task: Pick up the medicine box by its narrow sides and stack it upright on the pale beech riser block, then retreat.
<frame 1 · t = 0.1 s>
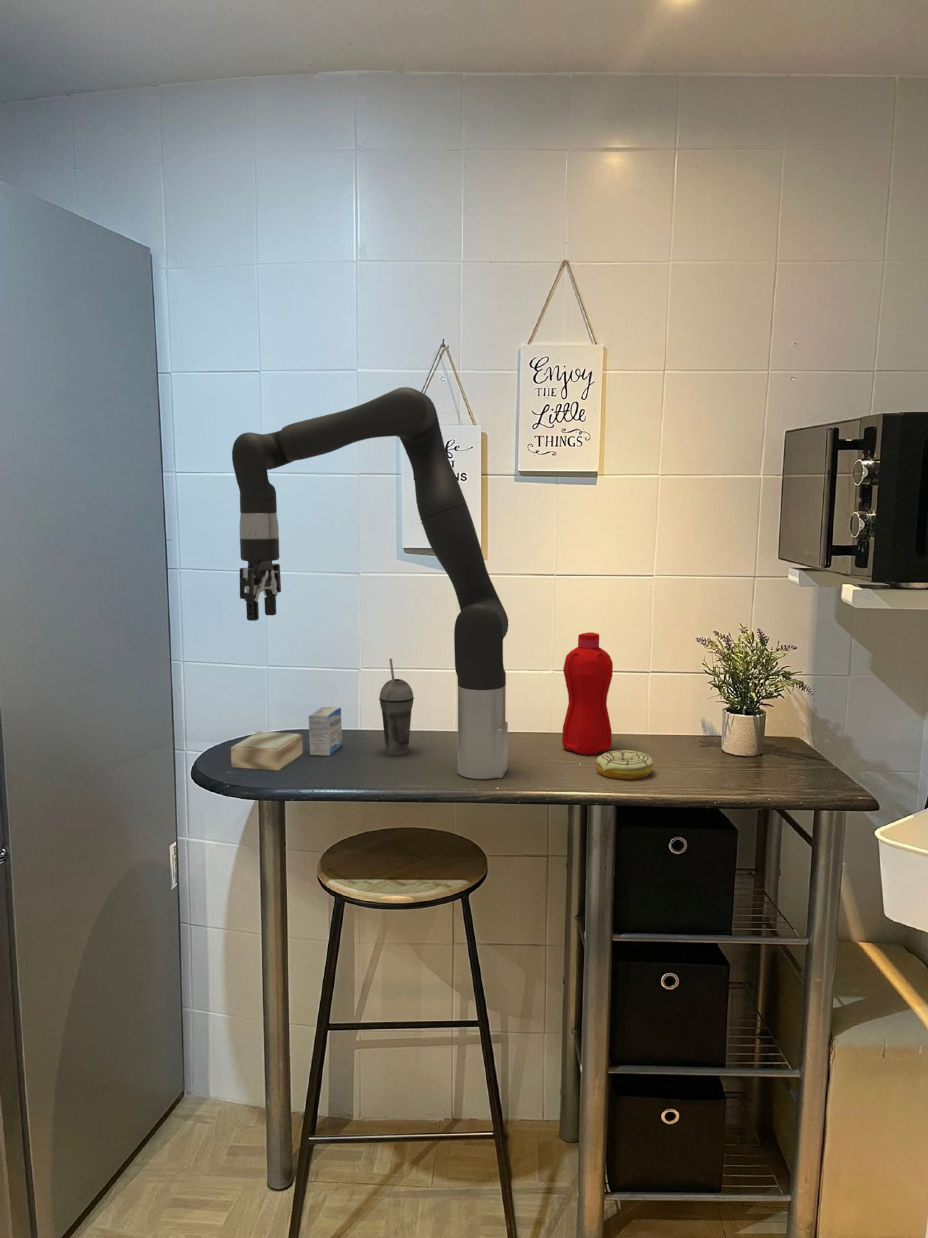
hand: (262, 617, 175), 29 cm above the table, fingers open, 8 cm apart
riser: (268, 760, 177), on the table
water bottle: (583, 749, 186), on the table
medicine box: (326, 751, 184), on the table
beverage cup: (397, 753, 183), on the table
decorated donut: (624, 774, 169), on the table
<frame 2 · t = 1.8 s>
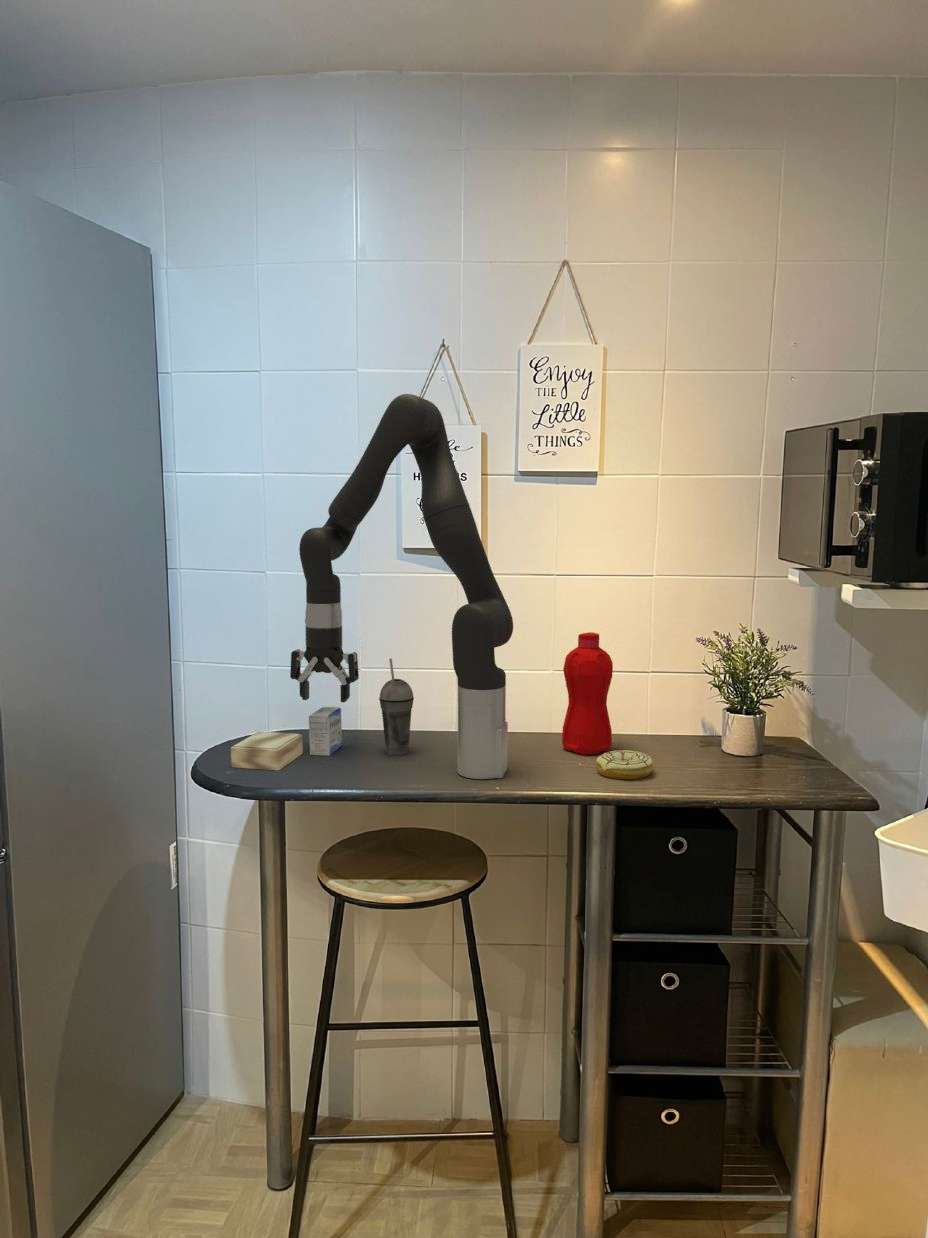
hand: (324, 700, 183), 11 cm above the table, fingers open, 8 cm apart
nothing on the table moved.
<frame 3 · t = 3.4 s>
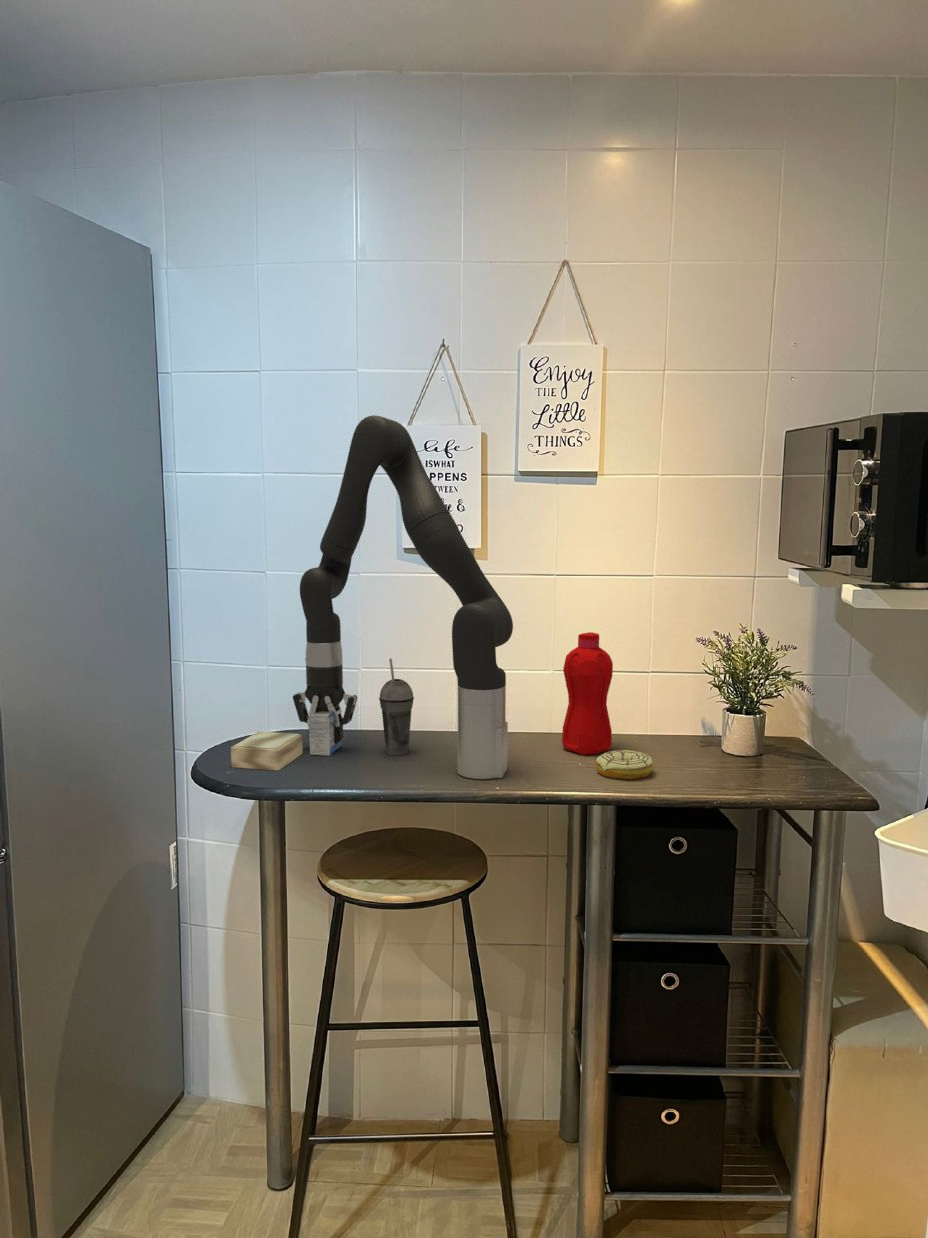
hand: (325, 741, 184), 2 cm above the table, fingers closed on medicine box, 4 cm apart
medicine box: (326, 751, 184), on the table, touching gripper
everything else where it was.
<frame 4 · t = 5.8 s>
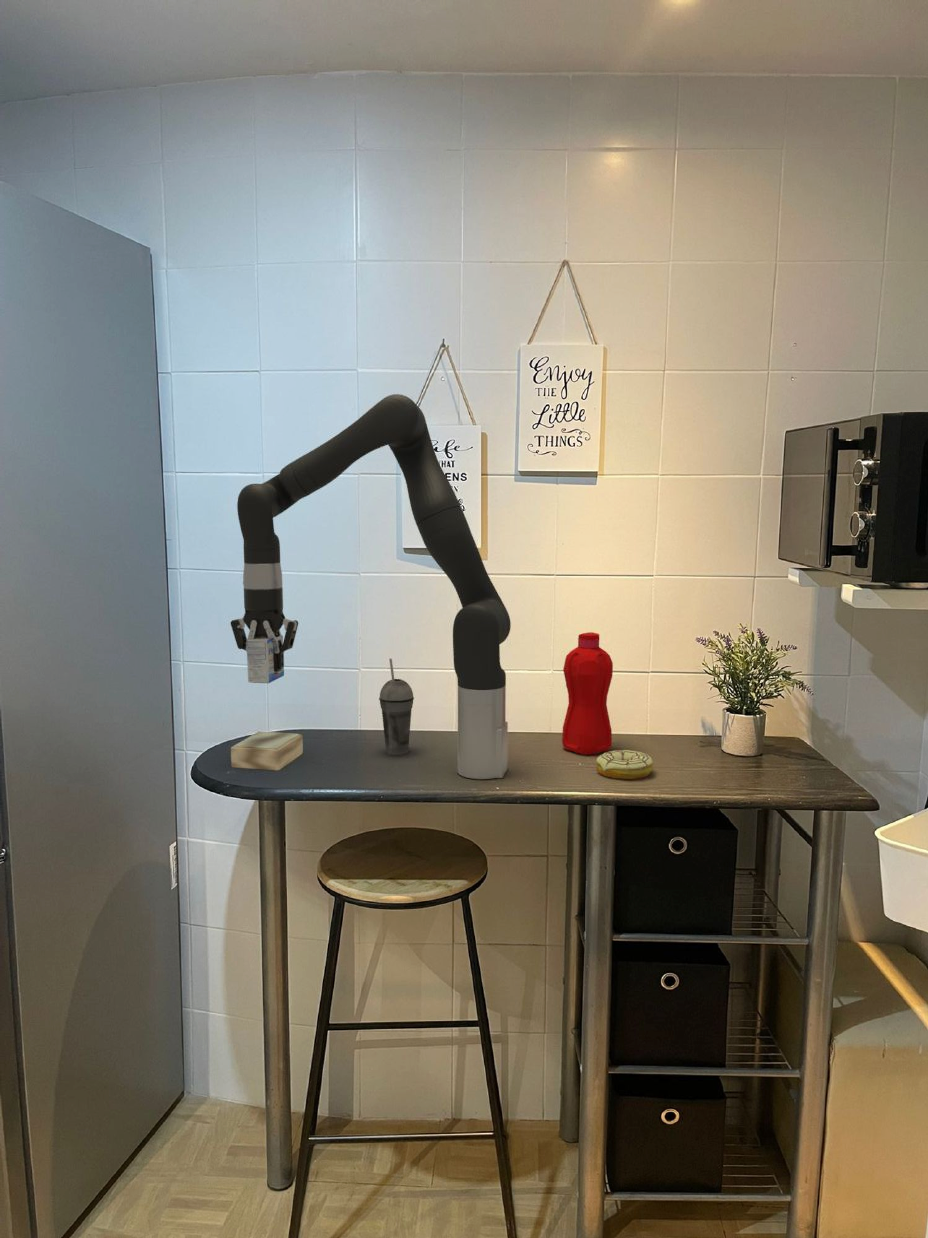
hand: (265, 670, 175), 19 cm above the table, fingers closed on medicine box, 4 cm apart
medicine box: (266, 680, 175), point 16 cm above the table, touching gripper
everything else where it was.
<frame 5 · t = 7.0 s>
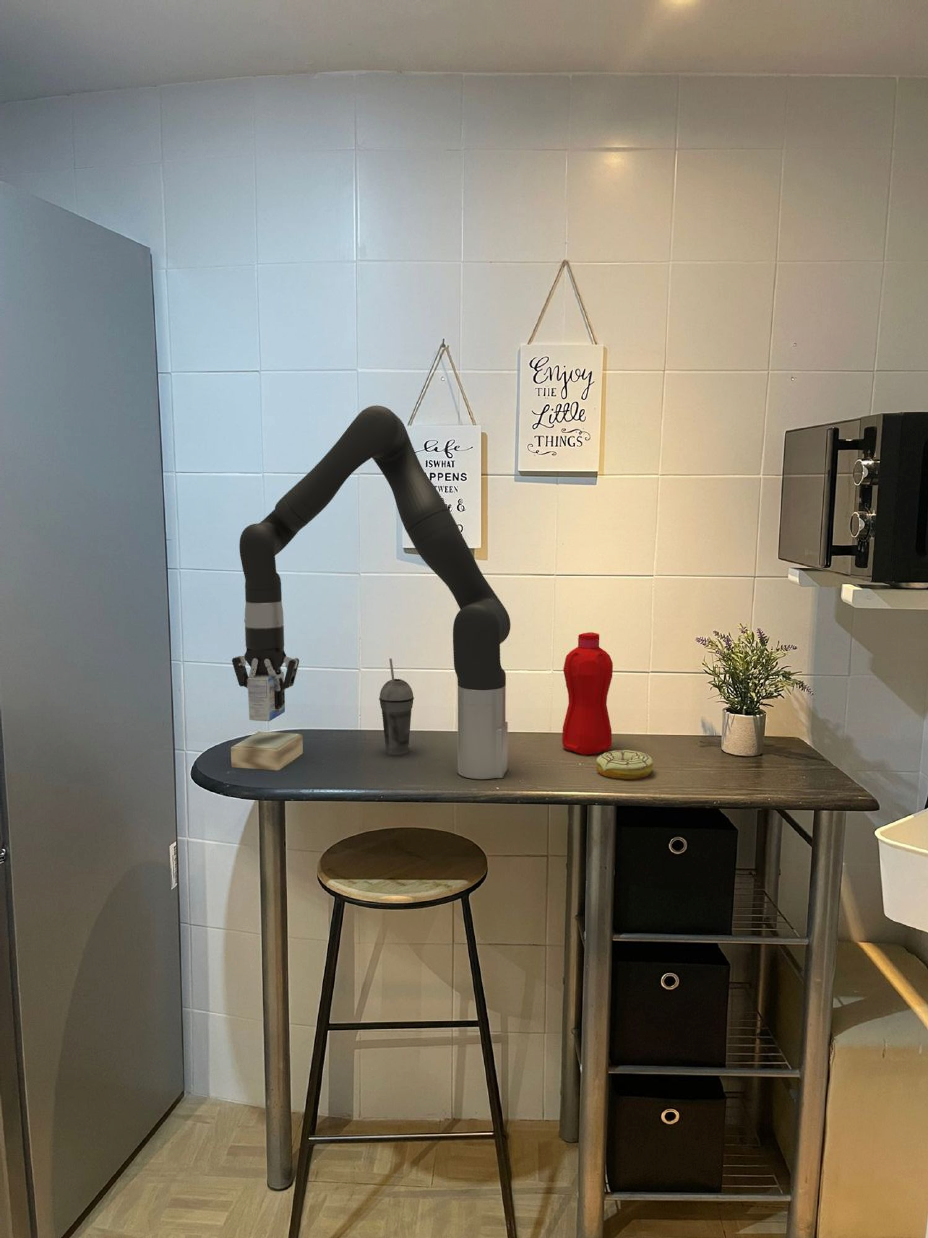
hand: (266, 707, 176), 11 cm above the table, fingers closed on medicine box, 4 cm apart
medicine box: (267, 717, 176), point 9 cm above the table, touching gripper
everything else where it was.
when the fingers open (7 cm above the table, at t = 8.2 s): medicine box stays where it is, resting on riser.
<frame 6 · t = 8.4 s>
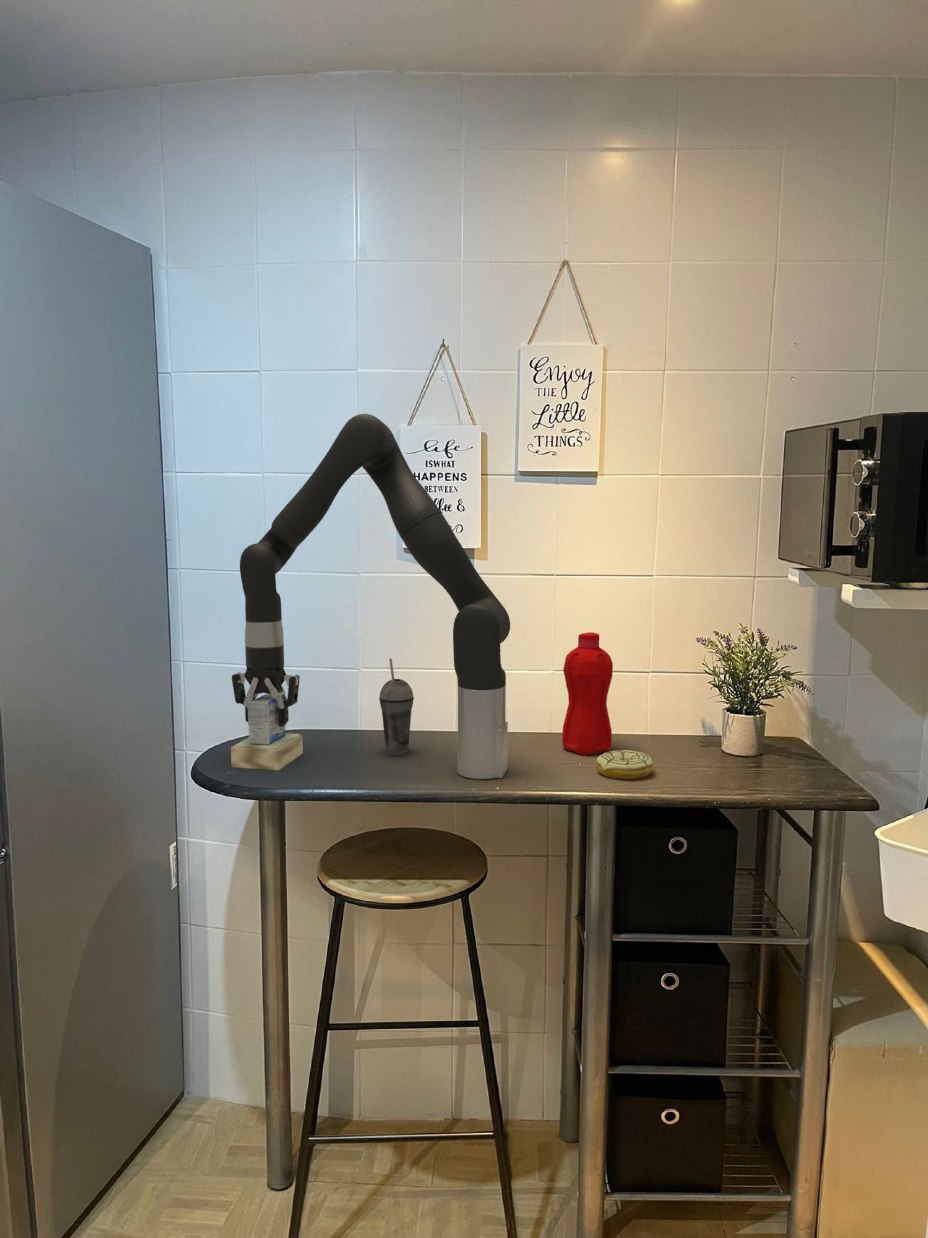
hand: (267, 724, 176), 7 cm above the table, fingers open, 6 cm apart
medicine box: (267, 740, 177), point 4 cm above the table, touching riser
everything else where it was.
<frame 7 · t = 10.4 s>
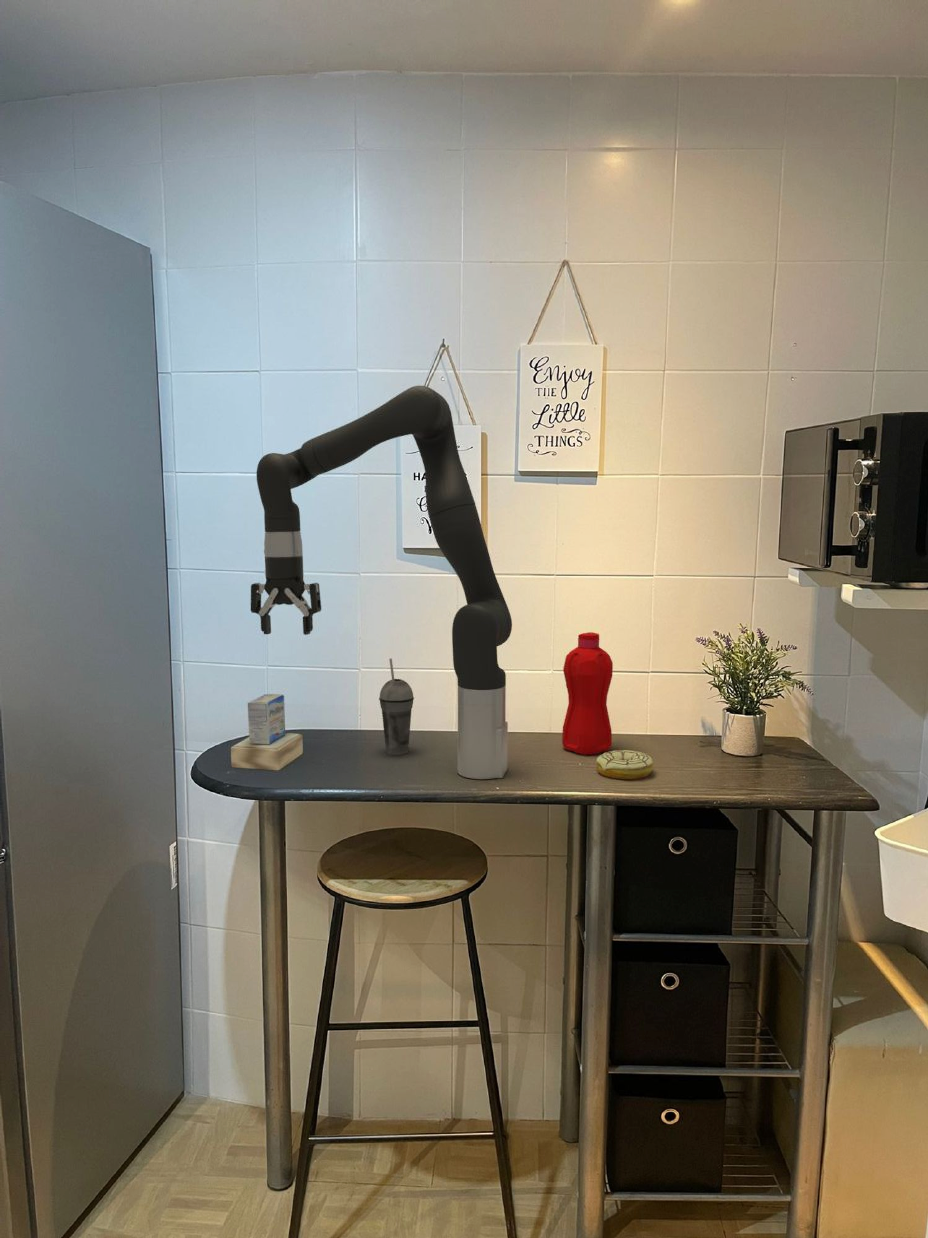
hand: (287, 634, 178), 25 cm above the table, fingers open, 8 cm apart
nothing on the table moved.
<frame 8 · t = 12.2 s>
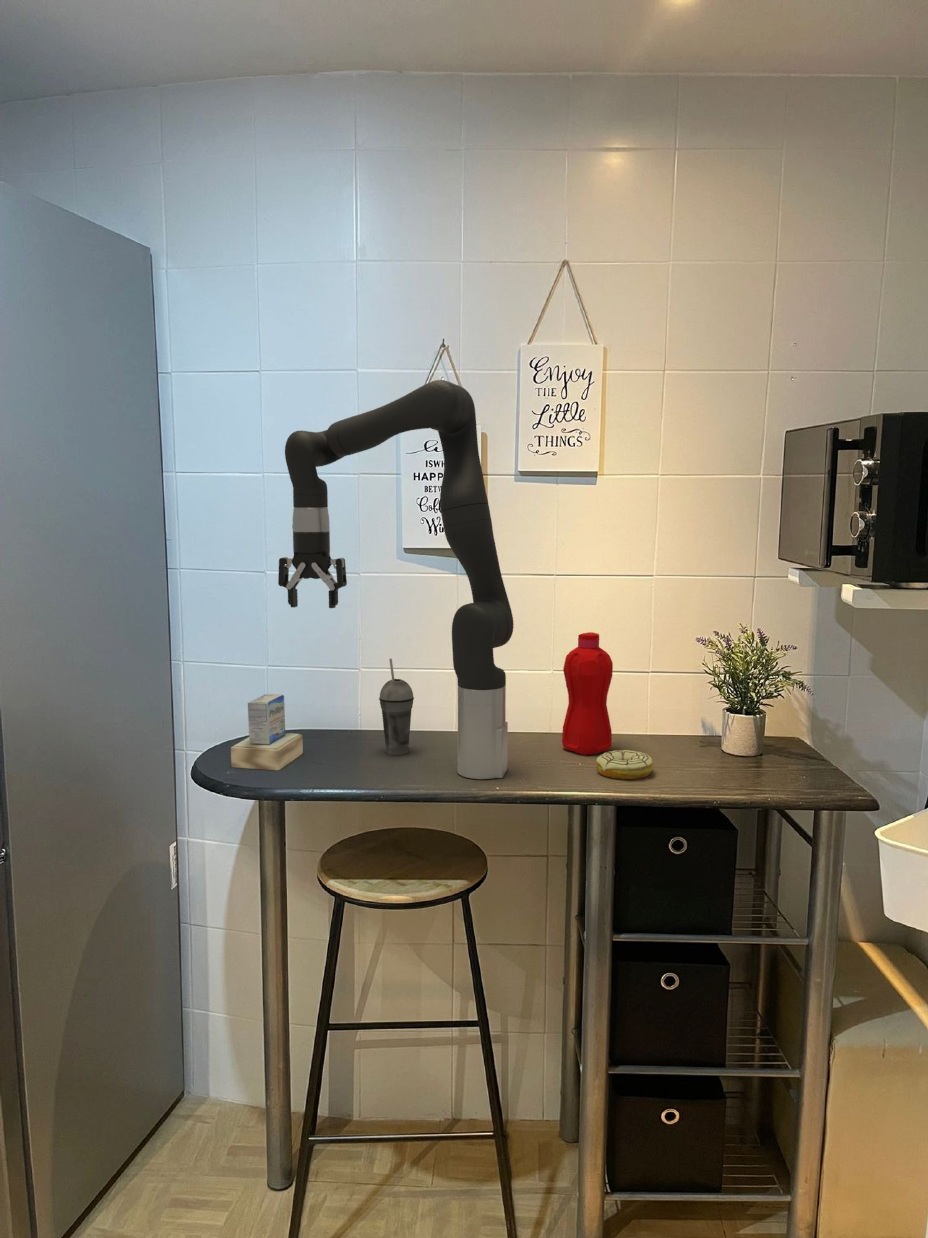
hand: (313, 607, 183), 30 cm above the table, fingers open, 8 cm apart
nothing on the table moved.
at the end: medicine box 0.1 cm from the riser (horizontally); medicine box tilted 0°; the gripper is holding nothing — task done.
